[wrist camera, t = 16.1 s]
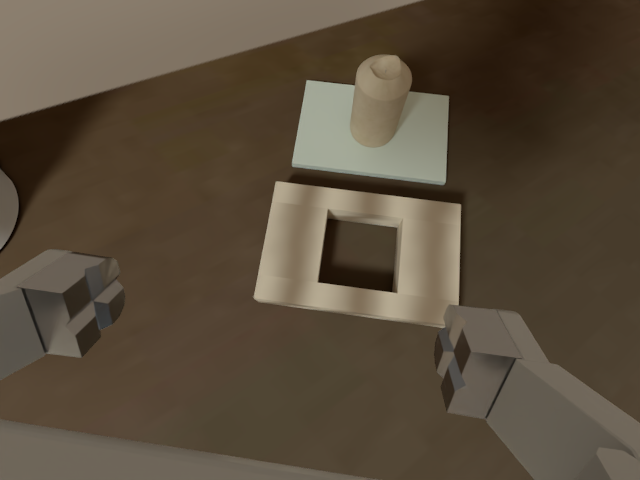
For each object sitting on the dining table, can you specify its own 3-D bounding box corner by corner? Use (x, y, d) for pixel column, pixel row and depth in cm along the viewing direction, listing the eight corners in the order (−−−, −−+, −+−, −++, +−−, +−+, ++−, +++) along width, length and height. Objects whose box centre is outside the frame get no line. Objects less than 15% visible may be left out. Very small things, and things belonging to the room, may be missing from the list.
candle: (373, 101, 45) (387, 33, 35) (404, 130, 43) (428, 68, 34) (340, 126, 43) (345, 63, 34) (371, 156, 42) (385, 100, 33)
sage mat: (292, 166, 43) (291, 163, 42) (307, 84, 46) (306, 80, 46) (443, 185, 42) (445, 181, 41) (446, 100, 46) (448, 95, 45)
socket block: (258, 302, 38) (253, 298, 35) (279, 192, 42) (276, 181, 39) (447, 328, 37) (458, 326, 34) (451, 214, 41) (461, 204, 38)
